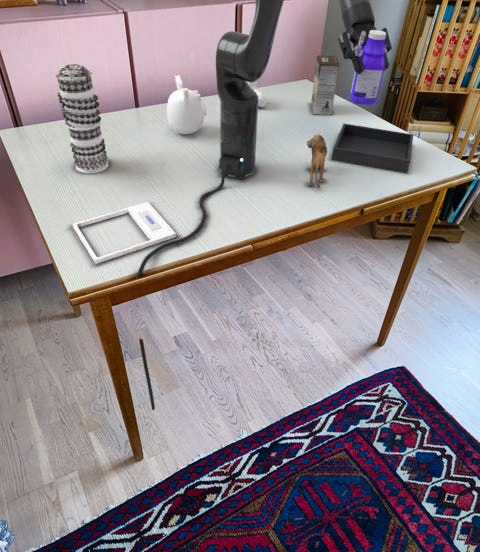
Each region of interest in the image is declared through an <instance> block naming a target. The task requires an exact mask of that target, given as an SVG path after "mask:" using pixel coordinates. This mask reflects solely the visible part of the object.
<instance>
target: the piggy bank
mask: <svg viewBox="0 0 480 552" xmlns="http://www.w3.org/2000/svg"><path fill="white" fill-rule="evenodd" d="M174 80H175V84H176V89H177V90H175V91H174V90H173V92H172V93H171V94H170V95H169V97H168V100H167V105H166V119H167V122H168V125H169V126H170V128H171V129H172V130H173V131H174V132H175V133H178V134H180V135H190V134H191V135H192V134H193V133H196V132H197V131H198V130H199V129H201V127H202V126H203V123H204V122H205V121H204V120H205V117H207V107H206V103H205V101H204V98H202V97H201V96H202V95H201V94H200V93H199V90H198V89H195V90H194V89H193V90H191V89H189V88H187V87H184V84H183V80H182V78H181V76H180V74H178V75H174Z"/></svg>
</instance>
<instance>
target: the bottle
mask: <svg viewBox="0 0 480 552" xmlns="http://www.w3.org/2000/svg"><path fill="white" fill-rule="evenodd" d="M379 30H380V29H377V30H371V31H370V33H369V36H368V40H367V43H366V45H365V47H364V48H363V49H362V50H361V51H362V53H361V55H359V57H361V60H362V64H363V67H364V71H363V72H362V73H361V74H357V72H355V71H354V75H353V80H352V83H351V88H350V89H351V91H350V93H349V94H350V99H351V102H352V103H354V104H359V105H365V106H366V105H370V106H371V105H374V104H375V103H376V101H377V100H378V97H379V93H380V90H381V85H382V81H383V77H384V73H385V71H384V69H385V61H384V54H385V52H386V51H385V47H384V42H385V37H386V32H384V31H379Z"/></svg>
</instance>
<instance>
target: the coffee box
mask: <svg viewBox="0 0 480 552" xmlns="http://www.w3.org/2000/svg"><path fill="white" fill-rule="evenodd" d="M340 66H341V65H340V62H339V59H338V57H337V55H324V54H323V55H322V54H321V55H319V54H318V55H316V62H315V70H314V78H313V84H312V85H313V86H312V93H311V101H310V105H311V111H312V114H313V115H330V116H331V115H332V113H333V108H334V101H335V94H336V90H337V89H336V88H337V84H338V83H337V82H338V76H339V70H340Z"/></svg>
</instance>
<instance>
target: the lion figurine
mask: <svg viewBox="0 0 480 552" xmlns="http://www.w3.org/2000/svg"><path fill="white" fill-rule="evenodd" d="M306 146H307V147H308V149H311V150H310V151H311V161H310V163H311V166H310V168H308V170H309V171H310V173H309V174H310V175H309V182H308V184H307V185H308V186H310V187H312V186H313V185H314V181H315V184H316V185H315V186H316V188H317V189H320V188H321V186H320V184H319V182H320V183H324V182H325V178H323V176H324V172H325V162H326V158H327V154H328V147H327V143H326V140H325V138H324V137H323V136H322V135H321V134H319V133H318V134H317V133H316V134H314V135H313V137H312V138H311V139H309V140H307V141H306ZM318 172H319V182H318Z"/></svg>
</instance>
